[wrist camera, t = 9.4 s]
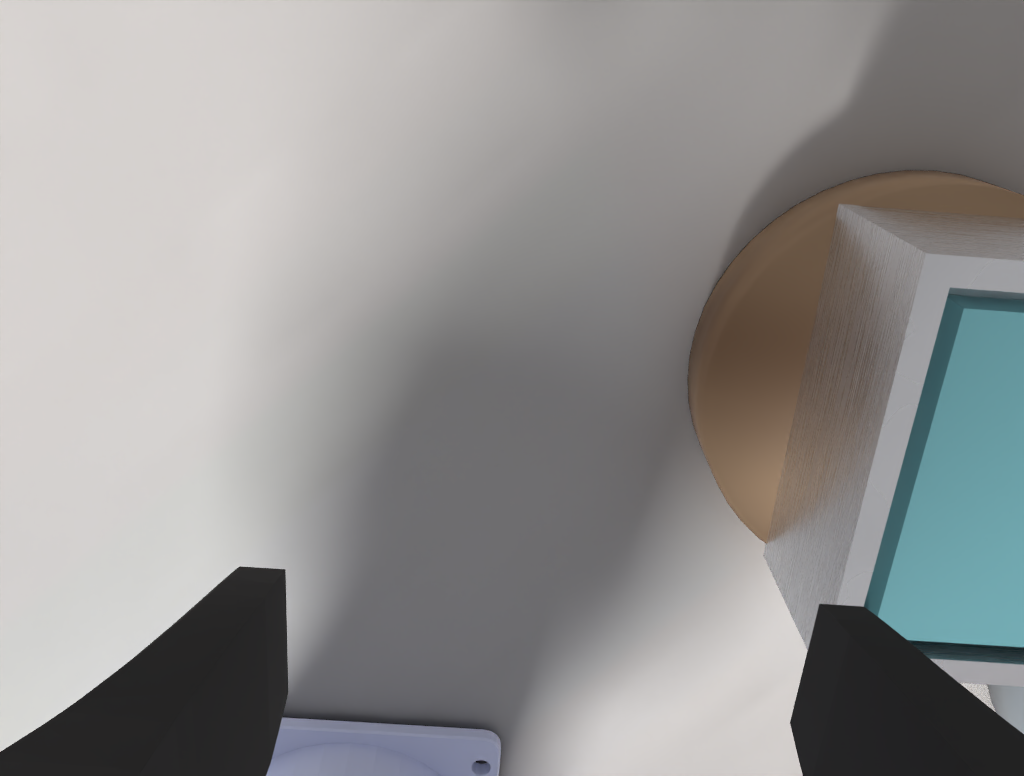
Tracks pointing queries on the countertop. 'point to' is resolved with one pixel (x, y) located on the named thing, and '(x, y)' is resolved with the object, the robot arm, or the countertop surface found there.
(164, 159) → the countertop surface
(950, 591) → the cover plate
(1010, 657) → the white and teal box
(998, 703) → the grey stand
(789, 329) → the walnut stand
